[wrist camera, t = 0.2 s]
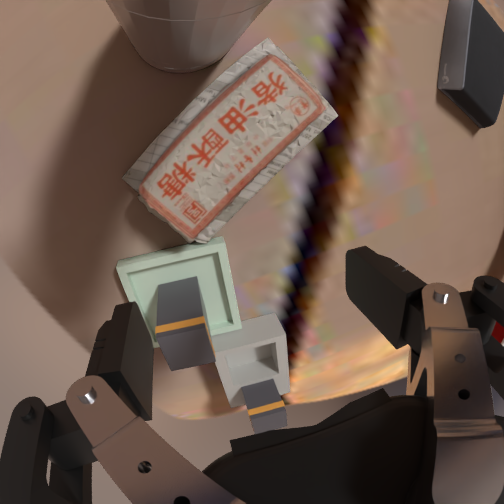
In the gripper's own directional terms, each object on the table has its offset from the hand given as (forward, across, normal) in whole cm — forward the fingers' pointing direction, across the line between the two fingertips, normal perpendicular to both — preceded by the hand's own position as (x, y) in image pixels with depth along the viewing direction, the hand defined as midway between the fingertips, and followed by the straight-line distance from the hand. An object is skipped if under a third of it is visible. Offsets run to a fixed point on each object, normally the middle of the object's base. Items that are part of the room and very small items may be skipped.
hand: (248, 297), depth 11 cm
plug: (+18, +4, +9) cm, 20 cm away
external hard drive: (+17, -38, -16) cm, 45 cm away
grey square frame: (+19, -1, +20) cm, 28 cm away
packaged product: (+18, -3, -5) cm, 19 cm away
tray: (+18, +4, +9) cm, 21 cm away
